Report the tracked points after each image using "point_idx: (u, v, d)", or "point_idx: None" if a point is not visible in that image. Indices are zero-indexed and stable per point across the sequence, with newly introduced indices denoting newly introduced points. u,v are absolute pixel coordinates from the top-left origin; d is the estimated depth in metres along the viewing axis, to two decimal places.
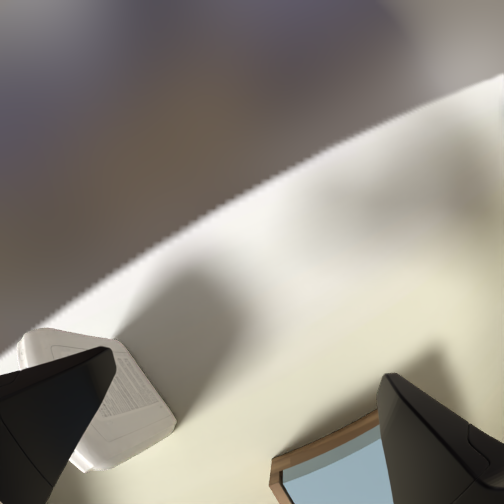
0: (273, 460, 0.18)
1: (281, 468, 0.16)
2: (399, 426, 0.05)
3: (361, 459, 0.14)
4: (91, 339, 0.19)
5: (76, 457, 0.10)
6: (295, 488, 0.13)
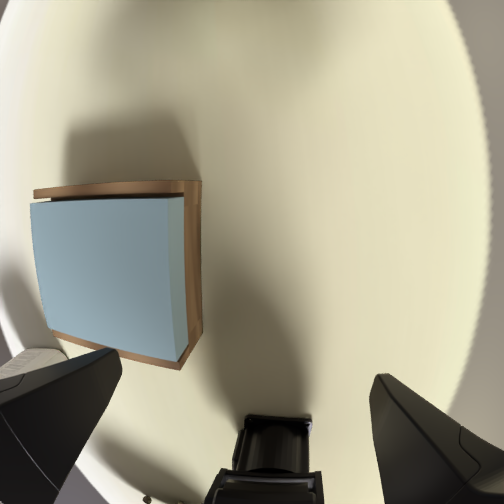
0: None
1: None
2: (390, 427, 0.06)
3: (41, 267, 0.17)
4: (3, 365, 0.23)
5: None
6: (52, 323, 0.18)
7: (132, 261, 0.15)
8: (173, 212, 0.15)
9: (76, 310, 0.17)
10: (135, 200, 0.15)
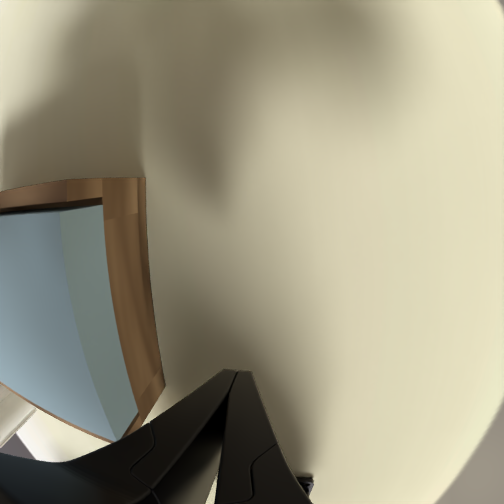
0: None
1: None
2: None
3: None
4: None
5: None
6: None
7: (34, 309, 0.08)
8: (76, 233, 0.08)
9: (1, 358, 0.10)
10: (25, 216, 0.07)
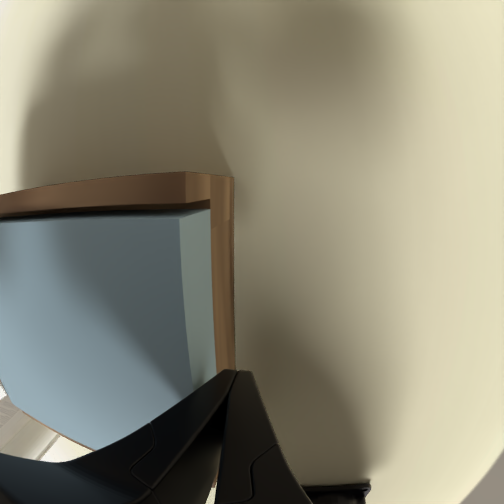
0: None
1: None
2: None
3: None
4: None
5: None
6: (15, 401, 0.09)
7: (111, 349, 0.07)
8: (192, 248, 0.07)
9: (40, 397, 0.09)
10: (103, 222, 0.06)
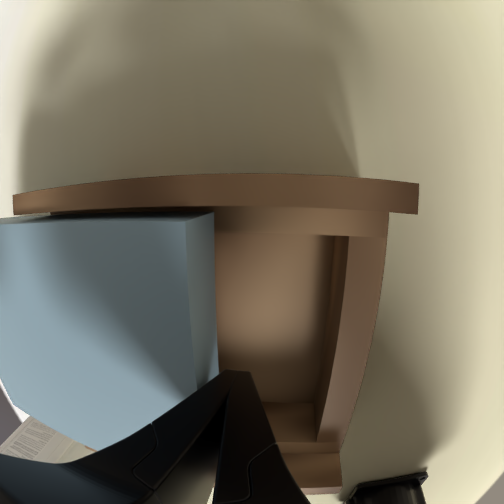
0: None
1: None
2: None
3: None
4: (7, 439, 0.13)
5: None
6: (16, 401, 0.09)
7: (115, 350, 0.07)
8: (197, 250, 0.07)
9: (42, 398, 0.09)
10: (108, 224, 0.06)
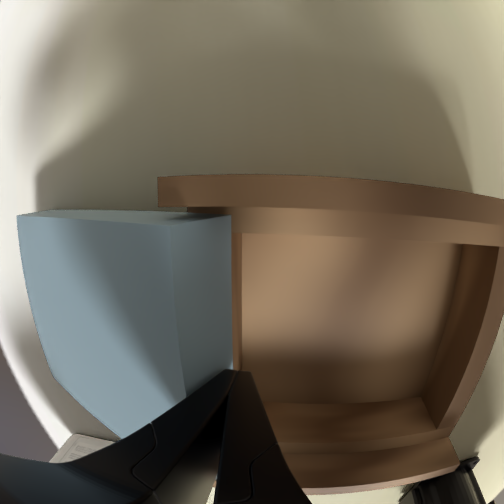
0: None
1: None
2: None
3: (33, 305, 0.12)
4: None
5: None
6: (55, 375, 0.13)
7: (122, 343, 0.07)
8: (194, 256, 0.06)
9: (72, 375, 0.11)
10: (113, 224, 0.07)
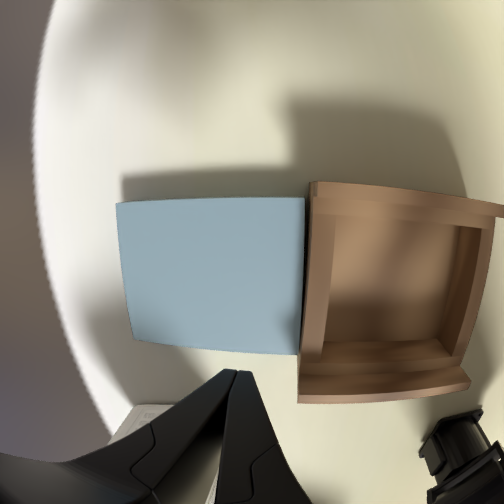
0: (297, 356, 0.19)
1: (299, 368, 0.17)
2: None
3: (131, 273, 0.18)
4: (115, 437, 0.18)
5: None
6: (141, 334, 0.19)
7: (262, 260, 0.17)
8: None
9: (180, 316, 0.18)
10: (268, 199, 0.16)
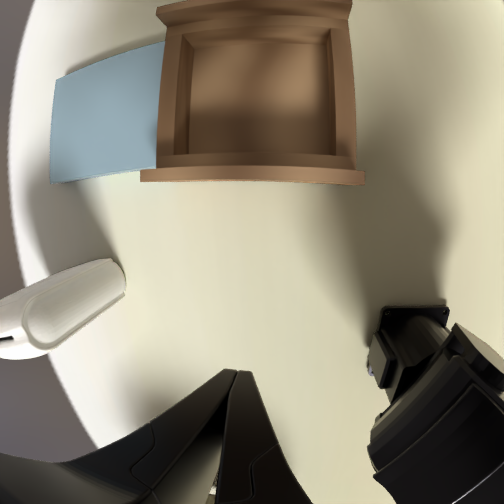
0: None
1: None
2: None
3: (56, 125, 0.18)
4: None
5: (16, 339, 0.12)
6: (55, 176, 0.19)
7: (138, 85, 0.17)
8: None
9: (81, 148, 0.19)
10: (146, 46, 0.16)
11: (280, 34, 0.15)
